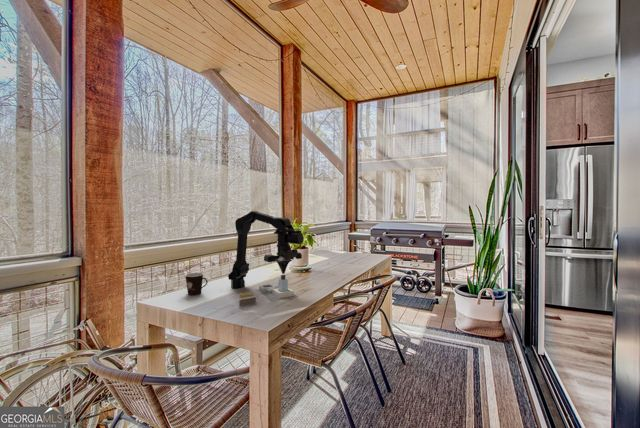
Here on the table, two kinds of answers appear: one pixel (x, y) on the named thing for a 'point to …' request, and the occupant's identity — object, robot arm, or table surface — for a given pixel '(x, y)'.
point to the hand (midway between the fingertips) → (283, 273)
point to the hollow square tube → (266, 288)
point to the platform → (247, 298)
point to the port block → (283, 293)
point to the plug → (283, 284)
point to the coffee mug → (194, 283)
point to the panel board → (272, 296)
